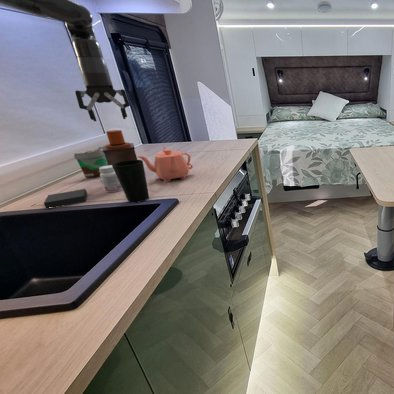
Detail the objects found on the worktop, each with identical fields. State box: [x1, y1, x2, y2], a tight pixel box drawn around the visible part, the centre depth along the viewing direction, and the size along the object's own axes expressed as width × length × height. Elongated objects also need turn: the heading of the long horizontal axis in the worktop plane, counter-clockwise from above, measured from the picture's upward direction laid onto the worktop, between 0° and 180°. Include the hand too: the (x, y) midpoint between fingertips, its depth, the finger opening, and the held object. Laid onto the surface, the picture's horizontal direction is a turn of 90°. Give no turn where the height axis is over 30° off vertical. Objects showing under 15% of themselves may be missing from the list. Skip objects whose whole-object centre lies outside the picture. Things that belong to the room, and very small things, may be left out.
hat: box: [104, 129, 131, 149], centre depth 109 cm, size 8×8×6 cm
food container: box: [73, 146, 108, 179], centre depth 115 cm, size 12×6×10 cm, turn 179°
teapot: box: [136, 147, 194, 183], centre depth 111 cm, size 14×14×11 cm
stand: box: [43, 188, 88, 209], centre depth 91 cm, size 9×8×2 cm
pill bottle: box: [99, 165, 123, 193], centre depth 99 cm, size 5×5×8 cm
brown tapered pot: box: [102, 142, 138, 165], centre depth 112 cm, size 9×9×12 cm
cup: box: [112, 159, 150, 203], centre depth 90 cm, size 8×8×12 cm
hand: (110, 120), depth 106 cm, fingers open, 8 cm apart
